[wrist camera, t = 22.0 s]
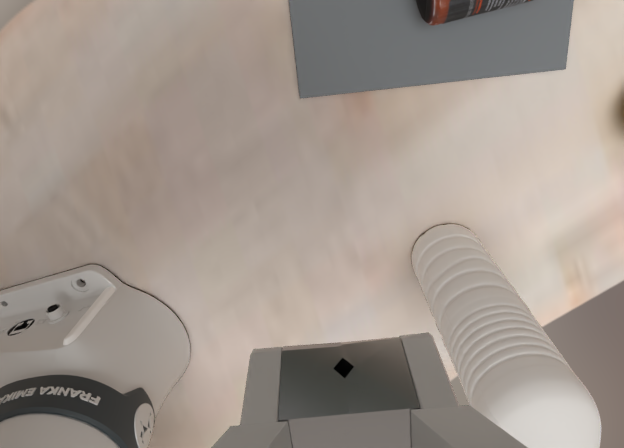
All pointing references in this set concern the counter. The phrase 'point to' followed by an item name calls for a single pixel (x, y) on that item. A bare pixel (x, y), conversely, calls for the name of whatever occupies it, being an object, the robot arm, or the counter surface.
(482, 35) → the mat
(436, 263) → the water bottle
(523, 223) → the counter surface
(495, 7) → the supplement bottle
